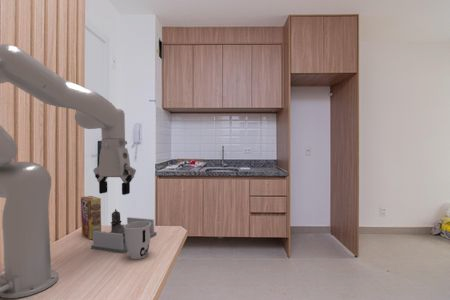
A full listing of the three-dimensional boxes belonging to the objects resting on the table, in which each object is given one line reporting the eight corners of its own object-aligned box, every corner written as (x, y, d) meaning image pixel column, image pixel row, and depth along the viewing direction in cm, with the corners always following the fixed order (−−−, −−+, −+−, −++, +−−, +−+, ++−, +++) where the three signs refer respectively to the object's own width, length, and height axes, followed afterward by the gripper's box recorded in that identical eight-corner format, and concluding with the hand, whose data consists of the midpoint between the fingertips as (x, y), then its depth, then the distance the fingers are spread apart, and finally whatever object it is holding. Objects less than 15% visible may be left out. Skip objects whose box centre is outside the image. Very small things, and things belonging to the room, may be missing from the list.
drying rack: (124, 253, 89) (123, 235, 89) (91, 248, 93) (90, 231, 93) (156, 234, 106) (156, 219, 106) (126, 231, 111) (126, 217, 111)
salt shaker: (107, 247, 92) (106, 211, 91) (107, 241, 97) (106, 208, 97) (126, 244, 94) (125, 209, 94) (125, 238, 99) (124, 206, 99)
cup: (143, 262, 82) (142, 229, 81) (119, 260, 83) (118, 228, 83) (156, 251, 89) (155, 221, 89) (133, 250, 91) (132, 220, 91)
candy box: (102, 236, 105) (101, 197, 105) (91, 240, 102) (89, 199, 101) (92, 232, 111) (91, 195, 110) (81, 235, 108) (79, 197, 107)
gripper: (141, 144, 95) (142, 192, 95) (102, 144, 101) (102, 191, 101) (126, 143, 88) (127, 196, 88) (85, 144, 94) (86, 194, 94)
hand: (114, 193), depth 95 cm, fingers open, 9 cm apart
